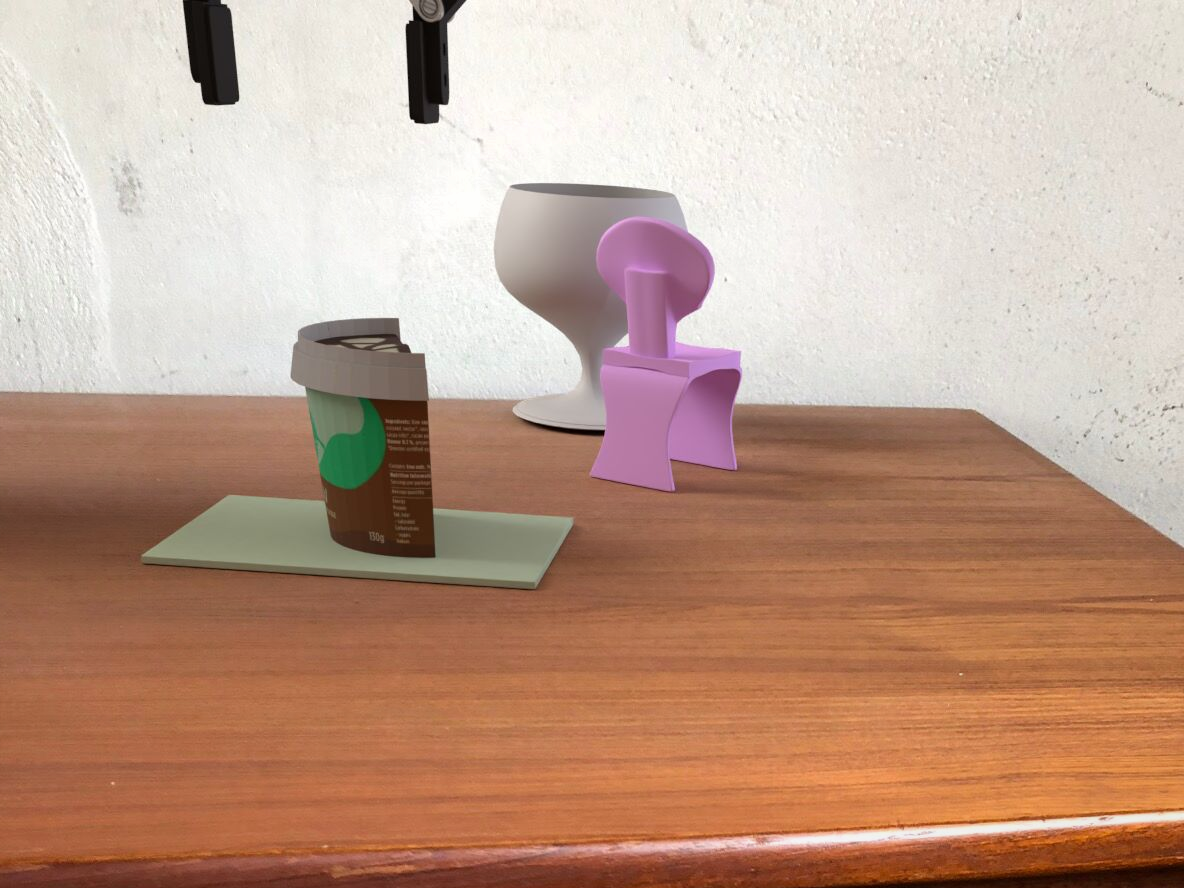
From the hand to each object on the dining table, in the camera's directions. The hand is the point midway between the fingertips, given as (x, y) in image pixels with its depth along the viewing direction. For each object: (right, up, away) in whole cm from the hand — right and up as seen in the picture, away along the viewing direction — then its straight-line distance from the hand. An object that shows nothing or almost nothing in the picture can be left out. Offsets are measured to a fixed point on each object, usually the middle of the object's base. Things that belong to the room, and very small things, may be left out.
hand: (323, 113), depth 71 cm
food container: (-1, -17, +10) cm, 20 cm away
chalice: (+8, +2, +42) cm, 43 cm away
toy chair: (+14, -7, +28) cm, 32 cm away
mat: (0, -17, +11) cm, 20 cm away
